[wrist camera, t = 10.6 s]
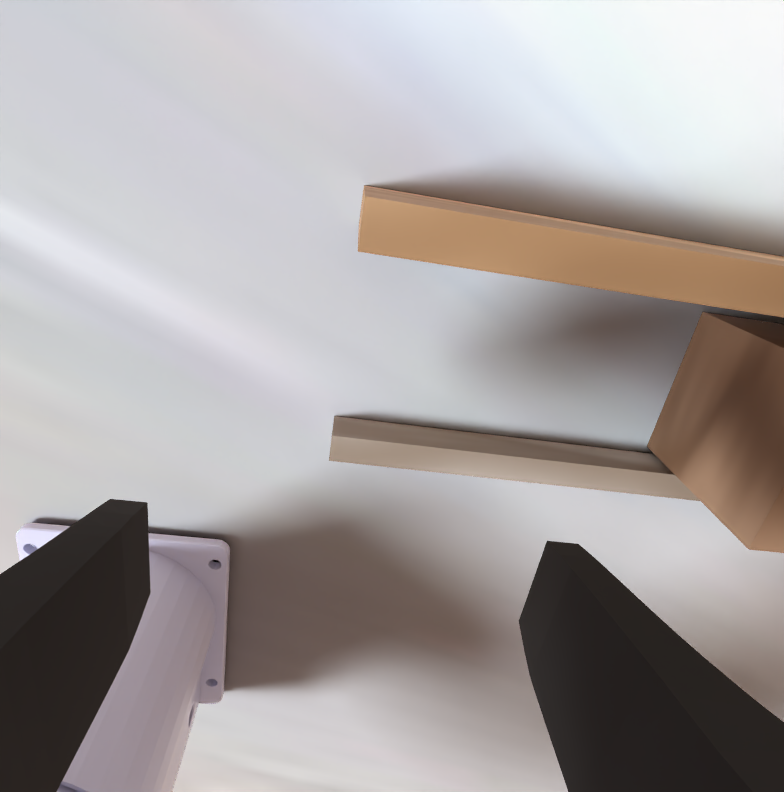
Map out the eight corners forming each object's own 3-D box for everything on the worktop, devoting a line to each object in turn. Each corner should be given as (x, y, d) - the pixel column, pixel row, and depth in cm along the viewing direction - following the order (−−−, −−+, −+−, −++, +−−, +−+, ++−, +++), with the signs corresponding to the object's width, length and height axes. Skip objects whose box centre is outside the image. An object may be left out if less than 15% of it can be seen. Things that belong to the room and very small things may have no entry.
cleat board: (785, 491, 22) (897, 578, 17) (331, 439, 20) (322, 524, 15) (904, 277, 18) (1085, 316, 14) (364, 185, 16) (365, 196, 12)
